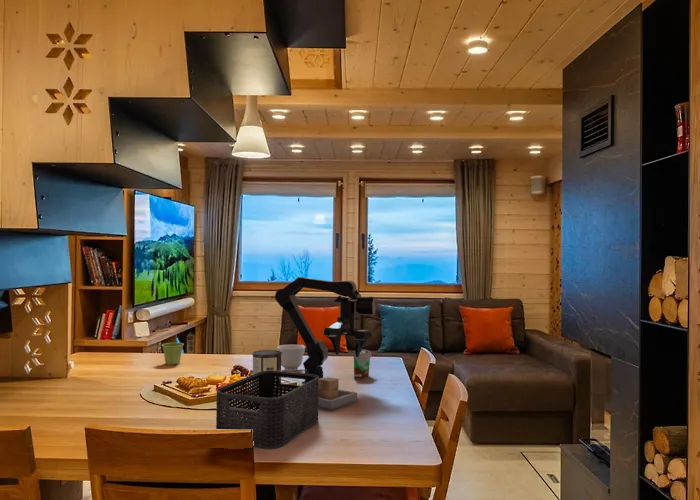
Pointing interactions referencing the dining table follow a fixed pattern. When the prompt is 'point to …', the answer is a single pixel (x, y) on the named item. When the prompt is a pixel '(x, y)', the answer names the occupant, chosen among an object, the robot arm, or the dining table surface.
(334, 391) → the walnut block
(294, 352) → the teacup
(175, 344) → the plant pot
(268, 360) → the coffee can
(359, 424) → the dining table surface
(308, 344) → the robot arm
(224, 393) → the storage bin
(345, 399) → the serving tray
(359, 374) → the food container
